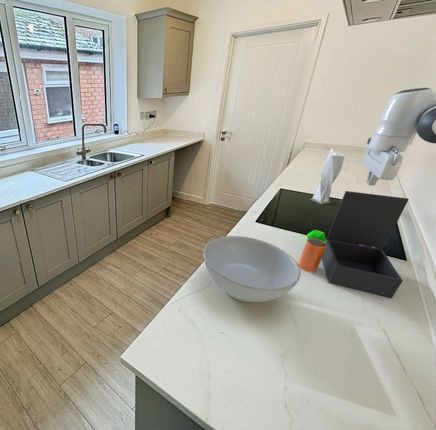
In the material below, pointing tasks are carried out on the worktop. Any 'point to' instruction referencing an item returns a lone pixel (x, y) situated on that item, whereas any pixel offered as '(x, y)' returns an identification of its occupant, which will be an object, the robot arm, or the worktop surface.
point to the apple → (317, 235)
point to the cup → (312, 255)
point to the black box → (360, 268)
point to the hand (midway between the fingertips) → (370, 184)
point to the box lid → (366, 218)
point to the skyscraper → (328, 177)
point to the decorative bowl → (250, 268)
